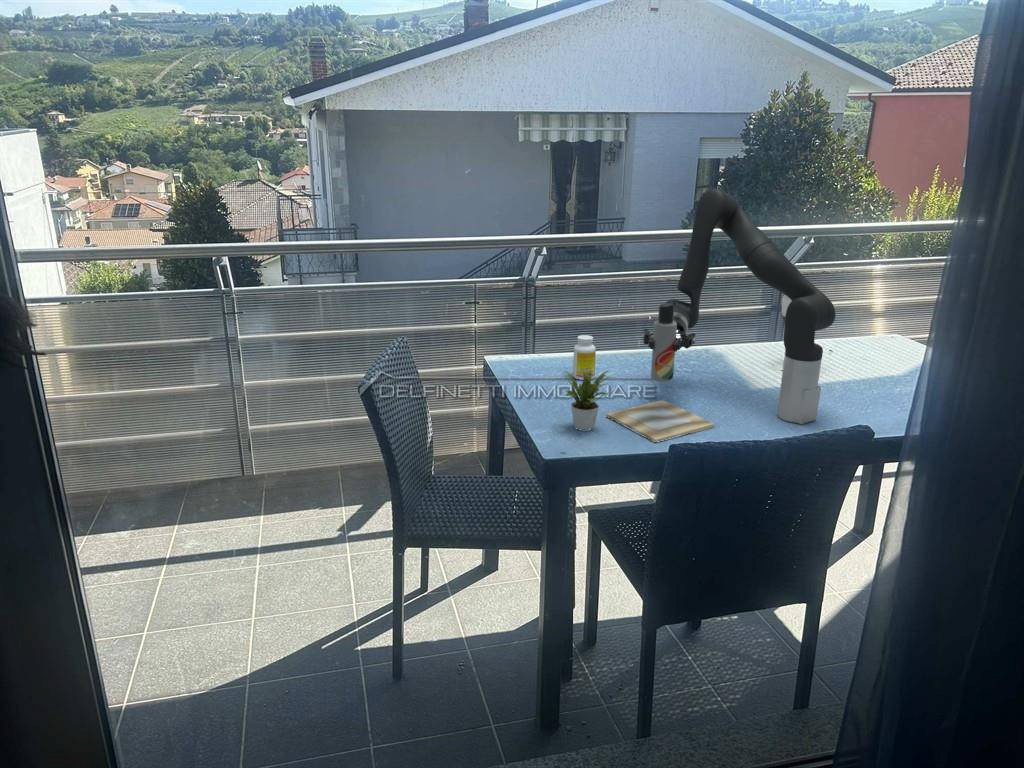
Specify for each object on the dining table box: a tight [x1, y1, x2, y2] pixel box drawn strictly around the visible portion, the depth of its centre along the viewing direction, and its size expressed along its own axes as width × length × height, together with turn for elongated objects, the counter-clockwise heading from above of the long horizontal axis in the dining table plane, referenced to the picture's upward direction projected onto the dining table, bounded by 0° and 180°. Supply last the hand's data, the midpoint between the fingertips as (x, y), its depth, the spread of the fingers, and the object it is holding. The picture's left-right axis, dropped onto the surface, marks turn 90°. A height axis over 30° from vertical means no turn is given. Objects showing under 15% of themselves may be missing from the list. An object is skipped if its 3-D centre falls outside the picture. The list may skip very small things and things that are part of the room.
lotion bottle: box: [650, 302, 677, 383], centre depth 201 cm, size 6×6×20 cm
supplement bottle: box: [572, 334, 597, 381], centre depth 240 cm, size 7×7×13 cm
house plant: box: [564, 366, 617, 430], centre depth 201 cm, size 14×14×16 cm
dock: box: [605, 399, 715, 442], centre depth 208 cm, size 20×20×1 cm
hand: (663, 346), depth 199 cm, fingers closed on lotion bottle, 5 cm apart
